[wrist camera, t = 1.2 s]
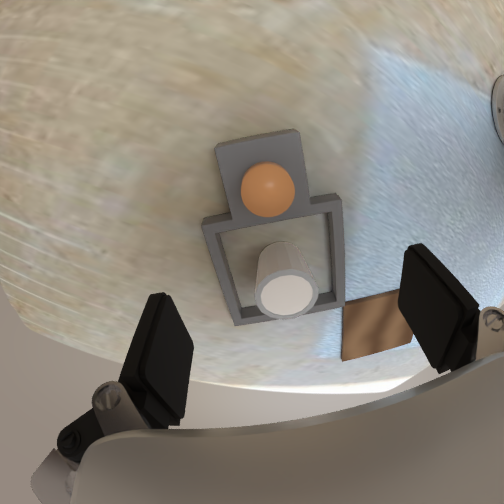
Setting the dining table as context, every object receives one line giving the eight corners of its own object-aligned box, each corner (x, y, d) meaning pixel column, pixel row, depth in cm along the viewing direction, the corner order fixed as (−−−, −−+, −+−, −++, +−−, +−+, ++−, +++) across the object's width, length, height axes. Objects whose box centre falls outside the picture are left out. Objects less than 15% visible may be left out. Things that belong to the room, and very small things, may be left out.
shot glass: (317, 263, 35) (330, 298, 29) (275, 291, 37) (280, 329, 31) (286, 226, 32) (295, 257, 26) (241, 258, 34) (240, 294, 28)
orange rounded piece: (283, 152, 25) (290, 161, 21) (290, 195, 27) (298, 212, 23) (237, 161, 25) (235, 172, 21) (247, 203, 27) (247, 221, 23)
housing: (327, 124, 26) (337, 127, 23) (340, 296, 38) (347, 312, 35) (185, 151, 27) (177, 158, 24) (235, 315, 39) (234, 332, 36)
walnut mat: (423, 282, 37) (425, 285, 36) (409, 339, 44) (410, 342, 43) (342, 302, 38) (344, 305, 37) (341, 358, 45) (342, 361, 44)
